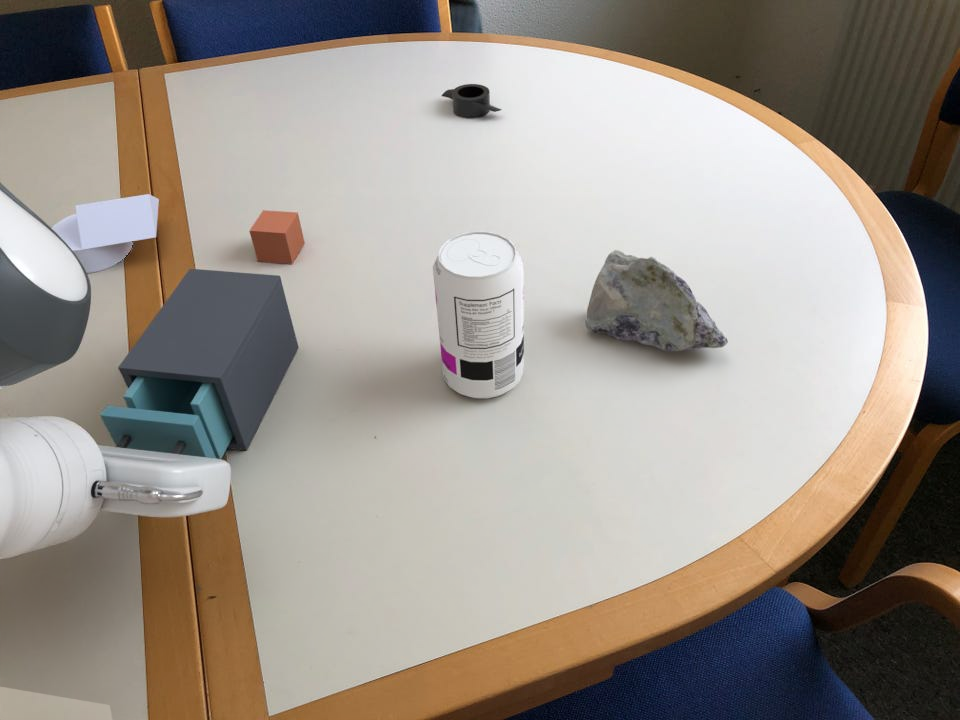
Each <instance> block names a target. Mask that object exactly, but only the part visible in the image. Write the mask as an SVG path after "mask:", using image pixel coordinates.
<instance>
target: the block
mask: <svg viewBox="0 0 960 720" xmlns="http://www.w3.org/2000/svg"><path fill="white" fill-rule="evenodd" d="M299 216H300V215H299V212H296V211H295V212H294V211H282V210H281V211H280V210H266V209H265V210H262V211H261V212H260V214H259V215H258V217H257V218H256V220H255V221H254V223H253V224H252V226H251V227H250V229H249V231H248V233H249V235H250V238H251V243H252V246H253V249H254V253H255V256H256V261H257V262H258V263H259V262H260V263H270V264H271V263H273V264H287V265H293V264H294V262H295V261H296V260H297V257H298V256H299V255H300V252H301V250H302V249H303V248H304V245H305V244H306V242H305V238H304V234H303V229H302V226H301V220H300V217H299Z"/></svg>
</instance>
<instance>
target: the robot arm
mask: <svg viewBox="0 0 960 720" xmlns="http://www.w3.org/2000/svg"><path fill="white" fill-rule="evenodd" d="M91 303H92V286H91V280H90V278H89V276H88V273H86V271H85V269H84V267H83V265H82V263H81V262H80V260H79V259H78V257H77V256H76V255H75V253H74V252H73V251H72V250H71V248H70V247H69V246H68V245H67V244H66V243H65V241H64V240H63V239H62V238H61V237H60V236H59V235H58V234H57V233H56V232H55V231H54V230H53V229H52V227H51V226H49V224H47V223H46V222H45V221H44V220H43V219H42V218H41V217H40V216H39V215H37V214H36V213H35V212H34V211H33V210H32V209H31V208H29V207H28V206H27V205H26V204H25V203H23V202H22V201H21V200H20V199H19V198H18V197H17V196H15V195H14V194H13V193H12V192H11V191H10V190H9V189H8V188H7V187H6V186H5V185H4V184H3V183H2V182H0V391H1V390H3V389H5V388H6V387H9V386H14V385H17V384H18V383H21V382H23V381H25V380H27V379H30V378H32V377H34V376H37V375H39V374H42V373H44V372H46V371H48V370H50V369H53V368H55V367H57V366H59V365H61V364H64V363H65V362H68V361H69V360H70V359H72V358H73V357H74V356H75V355H76V353H77V352H78V351H79V348H80V346H81V344H82V341H83V338H84V336H85V332H86V330H87V325H88V323H89V318H90V311H91V306H92V305H91ZM231 481H232V467H231V464H230V463H229V462H228V461H227V460H224V459H222V458H221V459H215V458H207V457H198V456H189V455H180V454H172V453H163V452H154V451H145V450H137V449H128V448H119V447H116V446H110V445H102V444H101V445H100V444H97V442H96V441H95V439H94V438H93V437H92V436H91V434H90V433H89V432H88V431H86V430H85V429H84V428H83V427H82V426H80V425H79V424H78V423H76V422H74V421H72V420H70V419H68V418H64V417H61V416H54V415H40V416H39V415H38V416H19V417H17V416H16V417H0V560H4V559H10V558H13V557H17V556H22V555H25V554H28V553H31V552H35V551H38V550H42V549H45V548H50V547H53V546H56V545H59V544H63V543H65V542H69V541H71V540H73V539H74V538H76V537H78V536H79V535H81V534H82V533H83V532H85V531H86V530H87V529H88V528H89V527H90V526H91V525H92V523H93V522H94V521H95V519H96V518H97V516H98V514H99V513H100V511H102V512H110V513H116V514H126V515H134V516H141V517H148V518H149V517H150V518H151V517H152V518H181V517H190V516H194V515H200V514H203V513H209V512H213V511H217V510H220V509H222V508H224V507H225V506H226V505H227V504H228V502H229V497H230V492H231V491H230V490H231Z"/></svg>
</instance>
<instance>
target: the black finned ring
mask: <svg viewBox="0 0 960 720" xmlns="http://www.w3.org/2000/svg"><path fill="white" fill-rule="evenodd" d="M490 92H491V91H490V88H488V87H487V86H485V85H483V84H480V83H479V84H478V83H468V84H467V83H465V84H462V85H458V86H457V87H455V88H451V89H447V90H445V91H444V92H443V93H442V94H441V97H444V98H448V99H451V100H452V112H453V114H454V115H455V116H457V117H459V118H463V119H476V118H477V119H478V118H481V117H484V116H486V115H487V114H489V113H490V112H493V113H496V112H499V111H502V110H503V109H502V108H499V107H496V106H494V105H491V99H490V95H491V94H490Z"/></svg>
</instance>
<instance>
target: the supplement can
mask: <svg viewBox="0 0 960 720" xmlns="http://www.w3.org/2000/svg"><path fill="white" fill-rule="evenodd" d="M437 254H438V255H437V257H436V259H435V261H434V263H433V265H432V273H433V275H432V276H433V283H434V284H433V285H434V296H435V305H436V315H437V323H438V324H437V325H438V326H437V327H438V335H439V336H438V337H439V347H440V357H441V367H442V375H443V377H442V378H443V379H444V381H445V382H446V384H447V385H448V387H449V388H451V389H452V390H453V391H455V392H456V393H457V394H459V395H462V396H466V397H469V398H473V399H486V400H487V399H491V398H495V397H500V396H501V395H503V394H505V393H507V392H509V391H511V390H513V389H514V388H515V387H516V386H517V385H518V384H519V382H520V381H521V380H522V377H523V373H524V371H525V328H524V327H525V316H524V315H525V291H524V290H525V266H524V262H523V259H522V257H521V255H520V254H519V252H518V251H517V248H516V245H515V244H514V243H513V242H512V241H511V240H510V239H509V238H508V237H505V236H504V235H501V234H499V233H497V232H491V231H487V230H483V231H482V230H480V231H479V230H478V231H477V230H473V231H467V232H463V233H459V234H456V235H454V236H452V237H450V238H448V239H447V240H446V241H445V242H444V243H443V244H442V245H441V246H440V248H439V251H438V253H437Z"/></svg>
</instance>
